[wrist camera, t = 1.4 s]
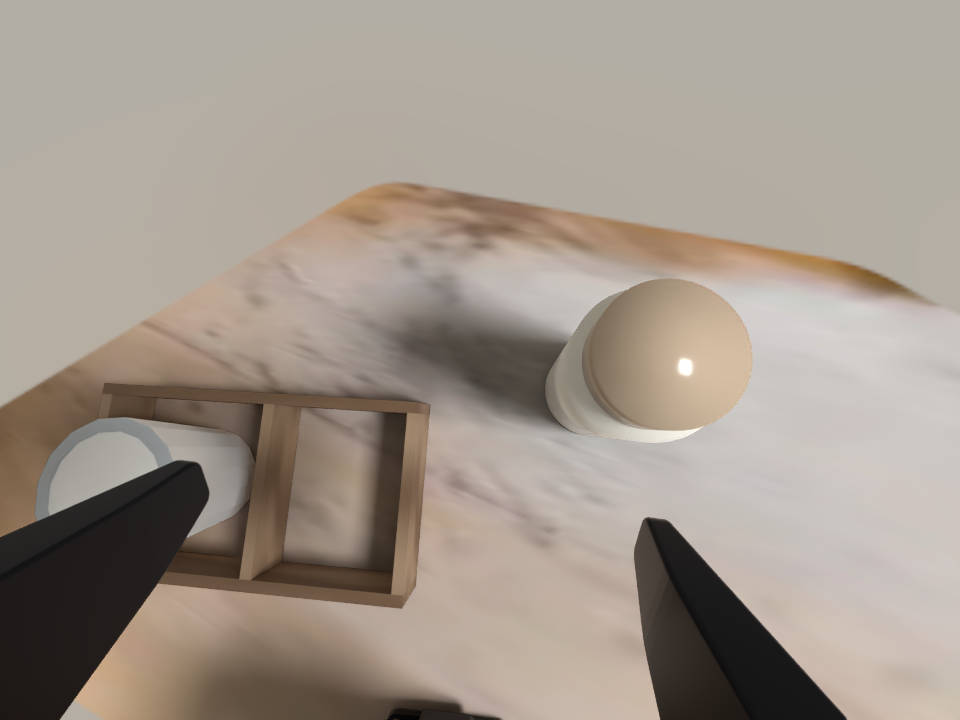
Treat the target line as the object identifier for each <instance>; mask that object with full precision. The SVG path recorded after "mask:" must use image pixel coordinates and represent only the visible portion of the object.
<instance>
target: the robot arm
mask: <svg viewBox="0 0 960 720" xmlns="http://www.w3.org/2000/svg"><path fill="white" fill-rule="evenodd" d="M209 495H210V491H209V488H208V485H207V482H206V479H205V476H204V473H203V470H202V467H201V465H200V464H199V463H197V462H194V461H186V460H176V461H173V462H171V463H169V464H166V465H164V466H162V467H160V468H157V469H155V470H153V471H150V472H148V473H146V474H144V475H141V476H139V477H137V478H134V479H132V480H130V481H128V482H125V483H123V484H121V485H118V486H116V487H114V488H112V489H109V490H107V491H105V492H103V493H100V494H98V495H96V496H93V497H91V498H89V499H87V500H84V501H82V502H80V503H77V504H75V505H73V506H71V507H68V508H66V509H64V510H61V511H59V512H57V513H55V514H52V515H50V516H48V517H45V518H43V519H41V520H39V521H36V522H34V523H32V524H30V525H27V526H25V527H23V528H20V529H18V530H16V531H14V532H11V533H9V534H7V535H4V536H2V537H0V720H60V719H61V717H62V716H63V714H64V713H65V712H66V710H67V709H68V707H69V706H70V705H71V703H72V702H73V701H74V699H75V698H76V696H77V695H78V694H79V692H80V691H81V689H82V688H83V687H84V685H85V684H86V683H87V681H88V680H89V678H90V677H91V676H92V674H93V673H94V671H95V670H96V669H97V667H98V666H99V664H100V663H101V662H102V660H103V659H104V658H105V656H106V655H107V653H108V652H109V651H110V649H111V648H112V646H113V645H114V644H115V642H116V641H117V639H118V638H119V637H120V635H121V634H122V633H123V631H124V630H125V628H126V627H127V626H128V624H129V623H130V621H131V620H132V619H133V617H134V616H135V614H136V613H137V612H138V610H139V609H140V608H141V606H142V605H143V603H144V602H145V601H146V599H147V598H148V596H149V595H150V594H151V592H152V591H153V590H154V588H155V587H156V585H157V584H158V582H159V581H160V580H161V578H162V577H163V575H164V574H165V572H166V571H167V569H168V567H169V566H170V564H171V563H172V561H173V559H174V558H175V556H176V554H177V553H178V551H179V549H180V548H181V546H182V544H183V543H184V541H185V539H186V538H187V536H188V534H189V533H190V531H191V529H192V528H193V526H194V524H195V523H196V521H197V519H198V518H199V516H200V514H201V513H202V511H203V509H204V508H205V506H206V504H207V502H208V499H209ZM634 561H635V570H636V579H637V588H638V597H639V605H640V614H641V623H642V632H643V639H644V646H645V651H646V656H647V661H648V666H649V670H650V675H651V680H652V684H653V689H654V693H655V698H656V702H657V707H658V711H659V716H660V720H847V718H846V717H845V715H844V714H843V713H842V712H841V711H840V710H839V709H838V708H837V707H836V705H835V704H834V703H833V702H832V701H831V700H830V699H829V698H828V697H827V696H826V694H825V693H824V692H823V691H822V690H821V689H820V688H819V687H818V686H817V684H816V683H815V682H814V681H813V680H812V679H811V678H810V677H809V676H808V674H807V673H806V672H805V671H804V670H803V669H802V668H801V667H800V666H799V665H798V663H797V662H796V661H795V660H794V659H793V658H792V657H791V656H790V655H789V653H788V652H787V651H786V650H785V649H784V648H783V647H782V646H781V645H780V643H779V642H778V641H777V640H776V639H775V638H774V637H773V636H772V635H771V634H770V632H769V631H768V630H767V629H766V628H765V627H764V626H763V625H762V624H761V622H760V621H759V620H758V619H757V618H756V617H755V616H754V615H753V614H752V612H751V611H750V610H749V609H748V608H747V607H746V606H745V605H744V604H743V603H742V601H741V600H740V599H739V598H738V597H737V596H736V595H735V594H734V593H733V591H732V590H731V589H730V588H729V587H728V586H727V585H726V584H725V583H724V581H723V580H722V579H721V578H720V577H719V576H718V575H717V574H716V573H715V572H714V570H713V569H712V568H711V567H710V566H709V565H708V564H707V563H706V562H705V560H704V559H703V558H702V557H701V556H700V555H699V554H698V553H697V552H696V550H695V549H694V548H693V547H692V546H691V545H690V544H689V543H688V542H687V541H686V539H685V538H684V537H683V536H682V535H681V534H680V533H679V532H678V531H677V529H676V528H675V527H674V526H673V525H672V524H671V523H670V522H669V521H667V520H665V519H658V518H650V517H647V518H645V519H644V520H643V522H642V524H641V528H640V531H639V534H638V538H637V541H636V545H635V549H634ZM393 719H398V720H487V719H479V718H472V717H471V716H470V715H465V714H457V713H449V712H441V711H432V710H425V711H424V712H423V711H415V710H407V709H399V708H398V709H394V710H392V711H391V713H390V714H389V716H388V719H387V720H393Z"/></svg>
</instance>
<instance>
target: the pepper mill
mask: <svg viewBox="0 0 960 720" xmlns="http://www.w3.org/2000/svg"><path fill="white" fill-rule="evenodd" d="M752 357H753V356H752V347H751V342H750V338H749V335H748V332H747V330H746V327H745V325H744V324H743V322H742V320H741V318H740V317H739V315H738V314H737V313H736V311H735V310H734V309H733V308H732V307H731V306H730V304H729V303H728V302H727V301H725V300H724V299H723V298H722V297H721V296H719V295H718V294H716V293H715V292H713V291H712V290H710V289H708V288H706V287H704V286H702V285H699V284H696V283H693V282H690V281H685V280H680V279H657V280H651V281H647V282H644V283H641V284H638V285H636V286H633V287H631V288H630V289H628V290H625V291H622V292H619V293H616V294H614V295H612V296H609V297H608V298H606V299H604V300H603V301H601V302H600V303H599V304H597V305H596V306H595V307H594V308H593V309H592V310H591V311H590V312H589V313H588V314H587V315H586V316H585V318H584V319H583V320H582V322H581V323H580V325H579V326H578V328H577V329H576V331H575V332H574V334H573V335H572V337H571V338H570V340H569V341H568V343H567V344H566V346H565V348H564V349H563V351H562V352H561V354H560V355H559V357H558V358H557V360H556V361H555V363H554V364H553V366H552V368H551V369H550V371H549V373H548V376H547V379H546V385H545V396H546V401H547V404H548V407H549V409H550V411H551V413H552V414H553V416H554V417H555V418H556V420H557V421H558V422H559V423H560V424H561V425H563V426H564V427H565V428H567V429H569V430H570V431H572V432H575V433H578V434H581V435H588V436H596V437H605V438H613V439H622V440H630V441H639V442H647V443H661V442H669V441H673V440H677V439H681V438H683V437H686V436H688V435H690V434H692V433H694V432H695V431H697V430H699V429H700V428H702V427H703V426H706V425H708V424H711V423H713V422H715V421H716V420H718V419H720V418H721V417H723V416H724V415H725V414H727V413H728V412H729V411H730V410H731V409H732V408H733V407H734V406H735V405H736V404H737V402H738V401H739V400H740V398H741V397H742V395H743V393H744V391H745V389H746V387H747V385H748V382H749V379H750V376H751V370H752Z"/></svg>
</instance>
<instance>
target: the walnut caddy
mask: <svg viewBox="0 0 960 720" xmlns="http://www.w3.org/2000/svg"><path fill="white" fill-rule="evenodd" d="M156 398H166V399H182V400H198V401H214V402H229V403H245V404H261V405H264V406H263V413H262V420H261V428H260V435H259V442H258V449H257V456H256V463H255V470H254V478H253V485H252V492H251V499H250V506H249V513H248V520H247V528H246V535H245V542H244V549H243V556H242V558H237V557H226V556H216V555H206V554H195V553H185V552H178V553H177V554H176V556H175V558H174V559H173V561H172V563H171V564H170V566H169V567H168V569H167V571H166V572H165V574H164V575H163V577H162V578H161V580H160V581H159V582H158V583H159V584H169V585H179V586H188V587H198V588H208V589H217V590H227V591H237V592H246V593H256V594H266V595H275V596H285V597H295V598H304V599H314V600H324V601H334V602H343V603H353V604H363V605H372V606H382V607H392V608H401V609H402V607H403V606H404V604H405V603H406V601H407V599H408V598H409V596H410V594H411V593H412V591H413V589H414V588H415V586H416V575H417V562H418V550H419V538H420V525H421V513H422V500H423V488H424V476H425V463H426V451H427V439H428V426H429V414H430V405H428V404H424V403H420V402H408V401H391V400H374V399H358V398H341V397H325V396H308V395H292V394H275V393H259V392H242V391H226V390H209V389H192V388H176V387H159V386H143V385H126V384H110V383H105V384H104V389H103V394H102V399H101V404H100V409H99V414H98V419H107V418H120V417H127V418H135V419H143V420H151V421H152V420H153V414H154V408H155V403H156ZM301 407H309V408H325V409H341V410H357V411H372V412H388V413H404V414H407V422H406V433H405V444H404V455H403V467H402V478H401V489H400V500H399V512H398V523H397V534H396V545H395V557H394V568H393V572H383V571H372V570H362V569H351V568H341V567H331V566H320V565H310V564H299V563H289V562H282V556H283V548H284V540H285V533H286V525H287V517H288V509H289V501H290V493H291V485H292V477H293V469H294V462H295V454H296V446H297V438H298V430H299V422H300V414H301Z"/></svg>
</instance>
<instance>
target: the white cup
mask: <svg viewBox="0 0 960 720" xmlns="http://www.w3.org/2000/svg"><path fill="white" fill-rule="evenodd" d="M176 460H186V461H194V462H197V463H199V464H200V465H201V467H202V470H203V473H204V476H205V479H206V482H207V485H208V488H209V491H210V495H209V499H208V502H207V504H206V506H205V508H204V509H203V511H202V513H201V514H200V516H199V518H198V519H197V521H196V523H195V524H194V526H193V528H192V529H191V531H190V533H189V534H188V536H187V538H188V537H190V536H192V535H195V534H197V533H199V532H201V531H203V530H205V529H207V528H209V527H212V526H214V525H216V524H218V523H220V522H222V521H224V520H226V519H228V518H230V517H232V516H234V515H236V514H237V513H238V512H239V510H240V509H241V508H242V507H243V506H244V505H245V504H246V503H247V502H248V500H249V498H250V495H251V492H252V485H253V478H254V470H255V460H254V458H253V455H252V452H251V450H250V447H249V446H248V445H247V444H246V443H245V442H244V441H243V440H242V439H241V438H240V437H239V436H238V435H235V434H233V433H230V432H227V431H225V430H221V429H213V428H206V427H198V426H190V425H182V424H174V423H166V422H158V421H151V420H143V419H135V418H127V417H120V418H107V419H97V420H95V421H93V422H91V423H89V424H87V425H85V426H83V427H81V428H79V429H77V430H75V431H73V432H71V433H70V434H69V435H68V437H67V438H66V439H65V440H64V441H63V442H62V443H61V444H60V445H59V446H58V447H57V448H56V449H55V450H54V451H53V452H52V453H51V455H50V457H49V459H48V461H47V463H46V466H45V468H44V470H43V472H42V474H41V476H40V479H39V481H38V485H37V495H36V505H35V516H36V520H37V521H39V520H41V519H43V518H45V517H48V516H50V515H52V514H55V513H57V512H59V511H61V510H64V509H66V508H68V507H71V506H73V505H75V504H77V503H80V502H82V501H84V500H87V499H89V498H91V497H93V496H96V495H98V494H100V493H103V492H105V491H107V490H109V489H112V488H114V487H116V486H118V485H121V484H123V483H125V482H128V481H130V480H132V479H134V478H137V477H139V476H141V475H144V474H146V473H148V472H150V471H153V470H155V469H157V468H160V467H162V466H164V465H166V464H169V463H171V462H173V461H176Z"/></svg>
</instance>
